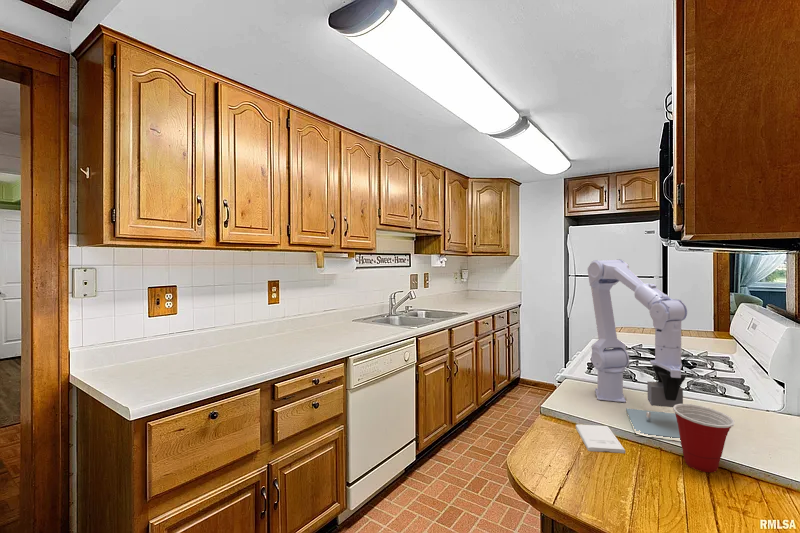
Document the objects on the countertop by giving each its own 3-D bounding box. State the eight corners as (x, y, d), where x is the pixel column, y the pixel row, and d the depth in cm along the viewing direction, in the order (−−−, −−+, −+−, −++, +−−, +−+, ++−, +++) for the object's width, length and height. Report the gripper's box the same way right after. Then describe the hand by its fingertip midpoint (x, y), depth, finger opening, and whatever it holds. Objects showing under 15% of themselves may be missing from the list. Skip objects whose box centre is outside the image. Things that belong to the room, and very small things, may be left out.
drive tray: (626, 411, 117) (626, 399, 117) (700, 419, 110) (700, 407, 110) (635, 436, 102) (636, 422, 102) (722, 447, 96) (722, 432, 95)
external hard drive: (608, 431, 106) (625, 455, 94) (575, 429, 108) (588, 453, 96) (608, 425, 106) (625, 449, 94) (575, 424, 108) (588, 446, 96)
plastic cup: (738, 485, 81) (739, 427, 80) (673, 470, 86) (673, 416, 86) (730, 461, 90) (730, 408, 89) (671, 449, 95) (672, 399, 95)
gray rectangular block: (647, 399, 110) (647, 381, 110) (677, 401, 107) (677, 383, 107) (651, 405, 106) (651, 386, 105) (683, 408, 103) (682, 389, 103)
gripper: (644, 338, 114) (644, 385, 114) (657, 351, 100) (657, 404, 101) (673, 340, 111) (673, 388, 112) (691, 353, 98) (690, 408, 98)
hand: (667, 396), depth 106 cm, fingers closed on gray rectangular block, 4 cm apart
